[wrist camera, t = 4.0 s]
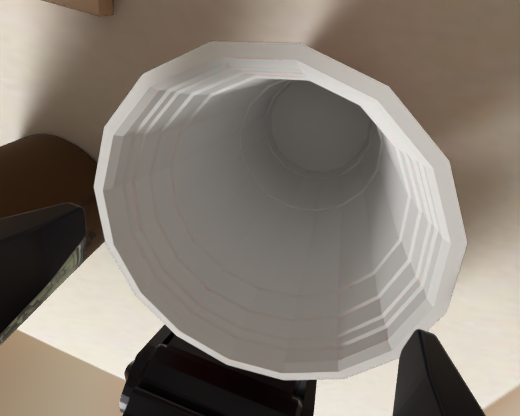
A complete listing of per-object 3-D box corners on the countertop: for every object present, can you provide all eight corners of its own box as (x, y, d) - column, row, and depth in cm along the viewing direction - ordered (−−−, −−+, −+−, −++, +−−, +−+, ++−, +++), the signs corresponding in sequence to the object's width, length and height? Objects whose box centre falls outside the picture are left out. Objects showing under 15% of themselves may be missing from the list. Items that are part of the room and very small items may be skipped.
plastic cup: (427, -18, 16) (487, -18, 6) (428, 204, 21) (461, 403, 11) (202, 33, 20) (15, 85, 10) (248, 210, 25) (152, 363, 15)
